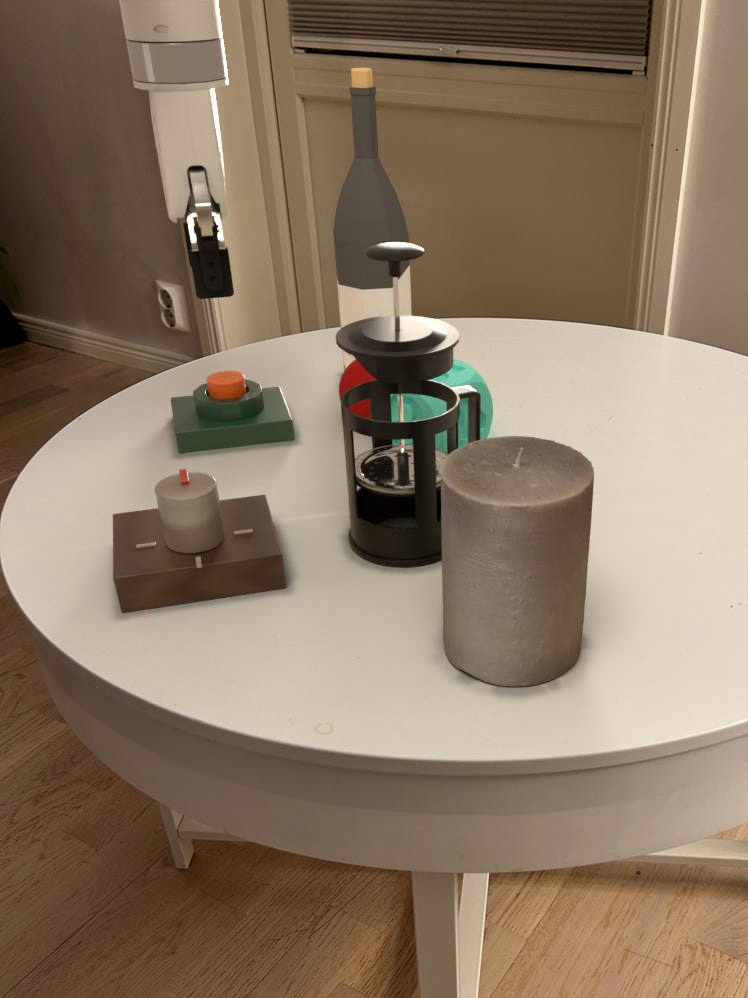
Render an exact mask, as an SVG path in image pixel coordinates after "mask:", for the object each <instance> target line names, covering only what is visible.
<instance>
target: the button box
mask: <svg viewBox="0 0 748 998" xmlns="http://www.w3.org/2000/svg"><path fill="white" fill-rule="evenodd" d="M245 384H246V391H247V394H246V395H243V396H240V397H237V398H233V399H215V398H211V397H209V392H208V385H207V382H205V383H201V384H200V385H199V386H197V387H196V388H195V389H194V390H192V395H183V396H174V397H170V405H171V412H172V419H173V427H174V428H173V429H174V434H175V435H174V436H175V439H176V446H177V451H178V454H179V455H181V454H182V455H183V454H189V453H199V452H206V451H215V450H223V449H233V448H240V447H250V446H259V445H266V444H267V445H269V444H274V443H275V444H276V443H285V442H293V441H295V431H294V429H295V428H294V421H293V418H292V416H291V415H292V414H291V413H290V410H289V407H288V404H287V402H286V399H285V396H284V393H283V391H282V388H281V386H271V387H262V386H261V384H260V383H258V382H255V381H253V380H251V379H245Z"/></svg>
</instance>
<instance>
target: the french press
mask: <svg viewBox="0 0 748 998" xmlns="http://www.w3.org/2000/svg"><path fill="white" fill-rule="evenodd" d="M425 253H426V252H425V249H424V248H423V247H421V246H419V245H416V244H413V243H410V242H409V243H401V242H389V243H381V244H376V245H373V246H370V247H368V248H367V249H365V251H364V255H365V256H366V257H368V258H370V259H374V260H380V261H388V272H389V276H390V277H393V292H394V315H395V316H381V317H373V318H368V319H363V320H359V321H356V322H353V323H350V324H348V325H346V326H344V327H342V328H341V327H340V329H338V331H337V332H336V334H335V343H336V345H337V346H338V348H339V349H340V350H344V351H345V352H346V353H347V354H349V355H353V356H354V357H355V359H356V360H357V361H358V362H359V363H360V364H361V365H362V367H363V368H364V369H365V370H366V371H367V372H368V373H369V374H370V375H372V376H373V377H374V378H375V379H376V380H372V381H368V382H364V383H361V384H358V385H356V386H354V387H352V388H350V389H349V390H347V391H346V392H345V393H344V394H343V395H342V398H341V401H340V410H341V420H342V433H343V447H344V457H345V459H344V460H345V470H346V473H345V474H346V484H347V498H348V513H349V526H350V528H349V531H348V535H347V536H348V543H349V546H350V547H351V549H352V551H353V552H354V553H355V554H356V555H357V556H359V557H361V558H362V559H364V560H365V561H368V562H371V563H374V564H377V565H381V566H388V567H395V568H397V567H399V568H409V567H419V566H425V565H430V564H433V563H436V562H439V561H442V525H441V476H440V474H439V468H440V466H439V464H440V462H441V461H443V460H444V459H445V458H446V457H447V456H448V455H449V454H450V453H451V452H453V451H454V450H456V449H458V420H459V416H460V399H465V398H468V444H469V443H471V442H474V441H478V440H480V428H481V396H480V393H479V392H478V391H476V390H475V389H474V388H473V387H471V386H461V387H456V388H451V387H450V386H448V385H445V384H443V383H441V382H437V381H433V380H430V379H433V378H436V377H439V376H441V375H443V374H445V373H447V372H448V371H449V370H450V369H451V368H452V367H453V359H454V348H455V347H456V346H457V345H458V344H459V342H460V332H459V329H457V328H456V327H455V326H454V325H452V324H450V323H448V322H446V321H443V320H440V319H436V318H432V317H427V316H420V315H419V316H418V315H412V316H401V315H399V296H398V277H400V276H402V261H407V260H410V261H412V260H416V259H420V258H421V257H423V256H424V255H425ZM390 394H398V409H399V422H392V419H391V398H390ZM402 394H418V395H425V396H430V397H434V398H438V399H441V400H443V401H445V402H447V412H445V413H443V414H441V415H438V416H435V417H432V418H428V419H424V420H417V421H406V422H403V397H402ZM368 398H369V400H370V416H371V419H367V418H364V417H361V416H358V415H356V414H354V413H352V412H350V411H349V410H348V409H349V408H350V407H351V406H353V405H354V404H356V403H358V402H360V401H362V400H365V399H368ZM446 430H447V453H446V452H443V451H441V450H439V449H436V448H435V435H436V434H438V433H441V432H444V431H446ZM354 433H357V434H358V435H359V434H360V435H362V436H366V437H370V438H371V446H372V447H371V449H368V450H366V451H363V452H362V453H360V454H358V455H357V456H356V455H355V454H356V453H355V444H354V443H355V442H354ZM392 439H394V440H400V444H397V445H393V440H392ZM404 439H413V444H404ZM355 456H356V457H355ZM358 487H359V488H358ZM402 515H414V517H415V526H411V527H410V526H408V527H395V526H394V527H393V526H384V525H380V524H377V523H376V522H378V521H380V520H382V519H386V518H389V517H394V516H402Z"/></svg>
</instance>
